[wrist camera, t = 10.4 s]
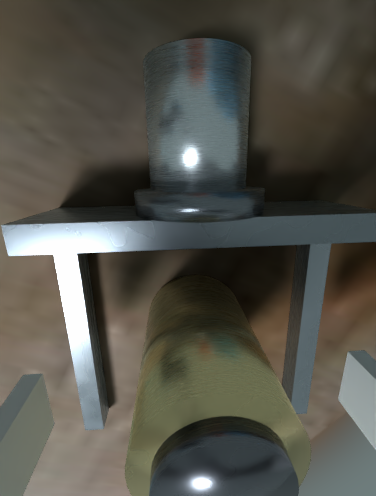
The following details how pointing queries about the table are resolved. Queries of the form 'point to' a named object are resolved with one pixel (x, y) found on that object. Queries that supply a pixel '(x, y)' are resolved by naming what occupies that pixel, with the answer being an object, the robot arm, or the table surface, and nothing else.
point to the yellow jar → (210, 403)
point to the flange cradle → (192, 210)
